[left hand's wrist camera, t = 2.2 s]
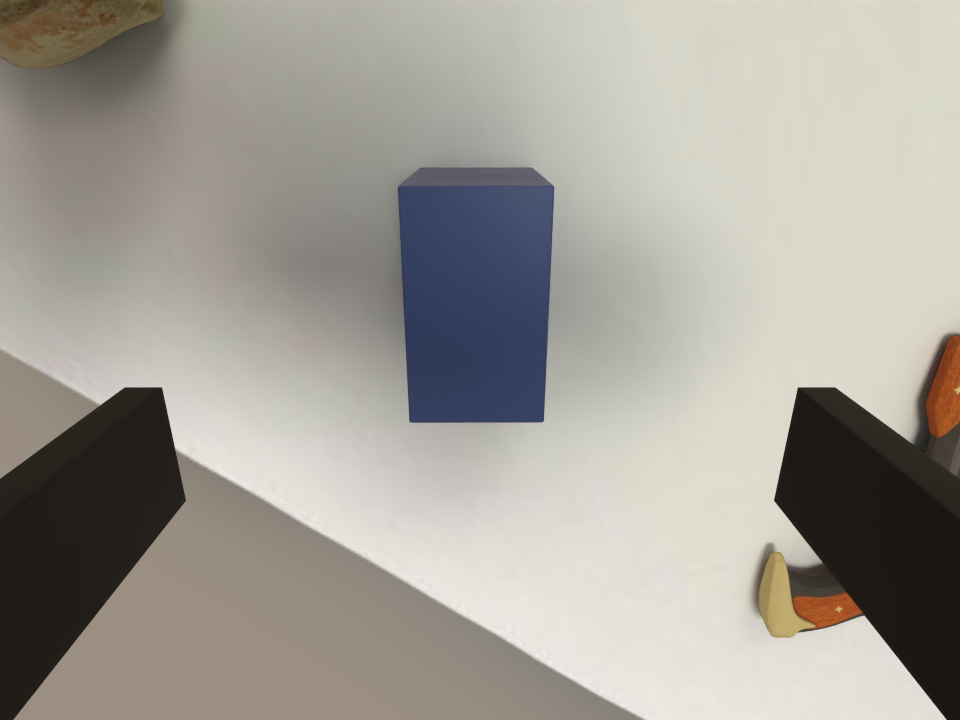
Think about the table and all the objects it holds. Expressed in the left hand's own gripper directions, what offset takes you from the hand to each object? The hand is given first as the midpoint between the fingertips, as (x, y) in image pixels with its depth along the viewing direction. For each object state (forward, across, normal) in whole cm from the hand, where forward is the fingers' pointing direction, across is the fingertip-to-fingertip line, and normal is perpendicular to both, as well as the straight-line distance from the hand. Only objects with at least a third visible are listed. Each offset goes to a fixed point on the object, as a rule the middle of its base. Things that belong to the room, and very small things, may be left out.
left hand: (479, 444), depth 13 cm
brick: (+16, 0, 0) cm, 16 cm away
